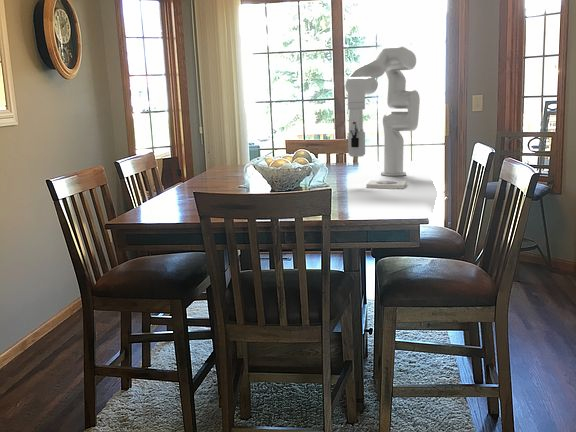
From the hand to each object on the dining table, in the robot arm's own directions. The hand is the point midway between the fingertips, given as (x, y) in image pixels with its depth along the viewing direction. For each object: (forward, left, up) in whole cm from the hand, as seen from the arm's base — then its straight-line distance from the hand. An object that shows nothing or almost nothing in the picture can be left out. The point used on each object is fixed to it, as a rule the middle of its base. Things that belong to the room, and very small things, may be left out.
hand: (356, 145), depth 274 cm
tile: (+2, +14, -18) cm, 22 cm away
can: (0, 0, -5) cm, 5 cm away
